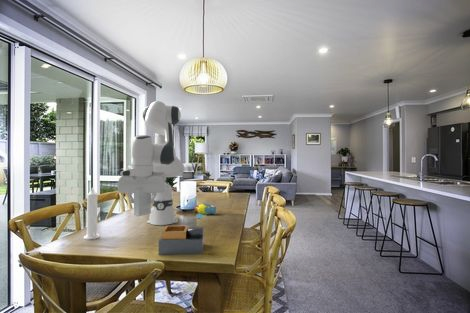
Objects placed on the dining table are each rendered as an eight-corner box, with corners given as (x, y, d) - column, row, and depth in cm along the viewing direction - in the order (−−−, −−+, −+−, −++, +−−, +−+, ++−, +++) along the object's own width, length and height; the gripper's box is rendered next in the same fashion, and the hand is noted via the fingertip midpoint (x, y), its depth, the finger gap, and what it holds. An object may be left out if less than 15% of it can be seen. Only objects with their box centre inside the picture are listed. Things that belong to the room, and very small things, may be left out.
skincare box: (145, 212, 117) (145, 186, 117) (150, 214, 114) (151, 187, 114) (133, 215, 112) (133, 187, 112) (138, 216, 109) (138, 188, 109)
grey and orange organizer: (164, 244, 117) (164, 225, 117) (203, 244, 119) (203, 224, 119) (158, 254, 105) (158, 232, 105) (202, 253, 107) (202, 232, 107)
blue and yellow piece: (200, 199, 196) (220, 200, 194) (200, 210, 196) (219, 211, 194) (188, 206, 169) (211, 207, 166) (188, 219, 169) (210, 220, 166)
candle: (85, 236, 129) (85, 186, 129) (100, 234, 132) (101, 186, 132) (82, 240, 123) (82, 188, 123) (98, 238, 125) (99, 187, 125)
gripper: (167, 171, 117) (167, 201, 117) (121, 171, 115) (121, 201, 115) (165, 172, 111) (164, 204, 111) (116, 172, 109) (116, 204, 109)
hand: (142, 202), depth 113 cm, fingers closed on skincare box, 7 cm apart
